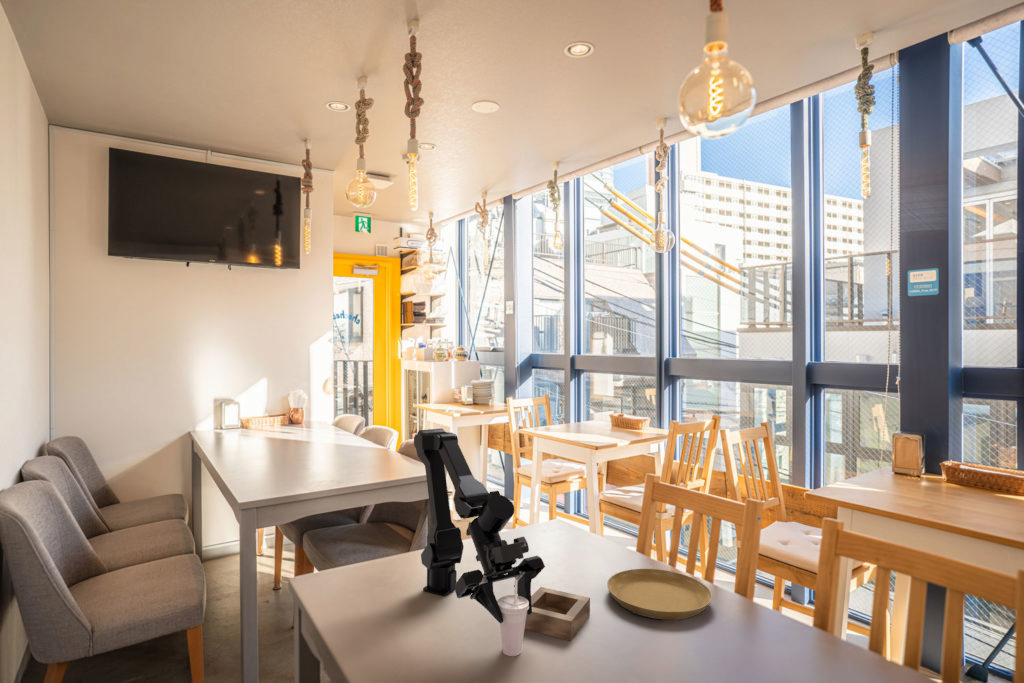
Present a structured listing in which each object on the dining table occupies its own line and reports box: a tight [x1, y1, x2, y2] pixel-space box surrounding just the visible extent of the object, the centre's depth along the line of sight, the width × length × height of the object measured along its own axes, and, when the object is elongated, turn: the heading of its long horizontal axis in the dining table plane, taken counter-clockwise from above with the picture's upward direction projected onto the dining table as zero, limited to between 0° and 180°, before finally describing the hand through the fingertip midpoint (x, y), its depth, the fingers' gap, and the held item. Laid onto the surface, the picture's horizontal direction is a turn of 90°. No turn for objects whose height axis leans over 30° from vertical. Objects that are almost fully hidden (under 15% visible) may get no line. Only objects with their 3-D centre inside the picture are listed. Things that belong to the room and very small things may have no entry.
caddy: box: [524, 586, 591, 642], centre depth 124 cm, size 12×12×4 cm
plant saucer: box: [606, 568, 713, 621], centre depth 134 cm, size 24×24×3 cm
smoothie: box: [497, 579, 529, 657], centre depth 111 cm, size 6×6×14 cm
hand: (516, 618), depth 110 cm, fingers closed on smoothie, 6 cm apart
